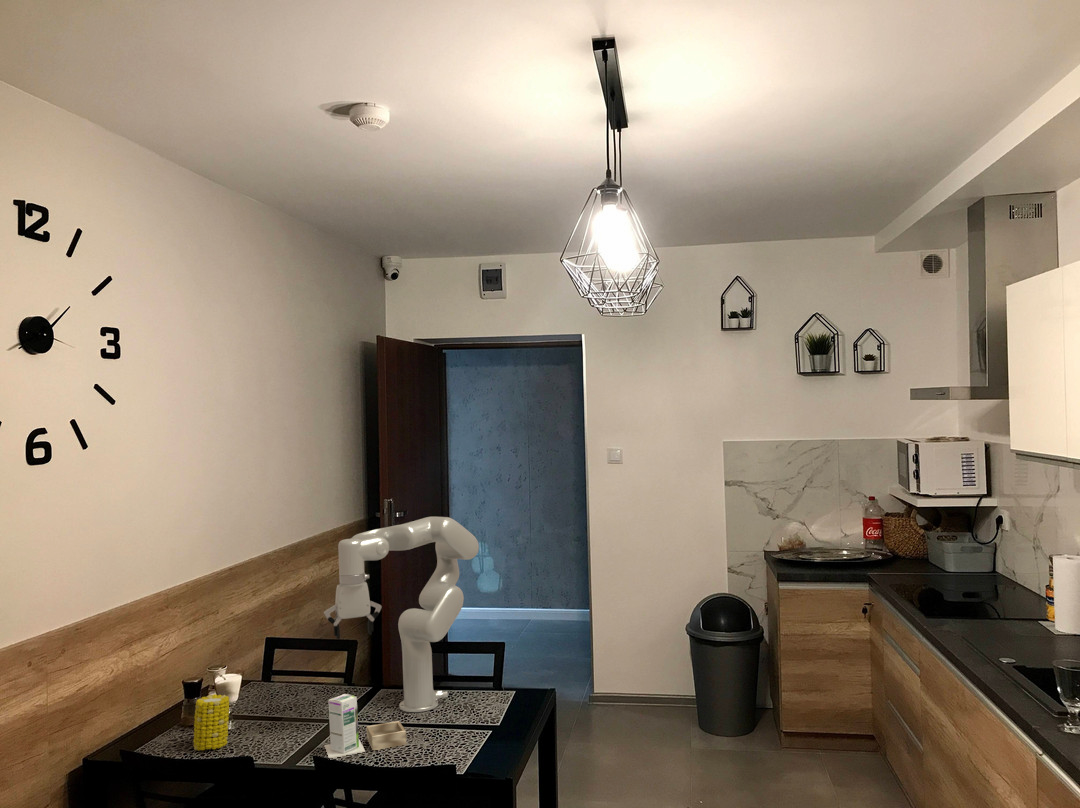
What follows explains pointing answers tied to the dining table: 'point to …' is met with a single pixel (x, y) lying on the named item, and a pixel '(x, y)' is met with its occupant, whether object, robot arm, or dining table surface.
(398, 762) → the dining table surface
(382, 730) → the wooden tray
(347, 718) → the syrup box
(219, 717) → the food
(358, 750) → the plate
